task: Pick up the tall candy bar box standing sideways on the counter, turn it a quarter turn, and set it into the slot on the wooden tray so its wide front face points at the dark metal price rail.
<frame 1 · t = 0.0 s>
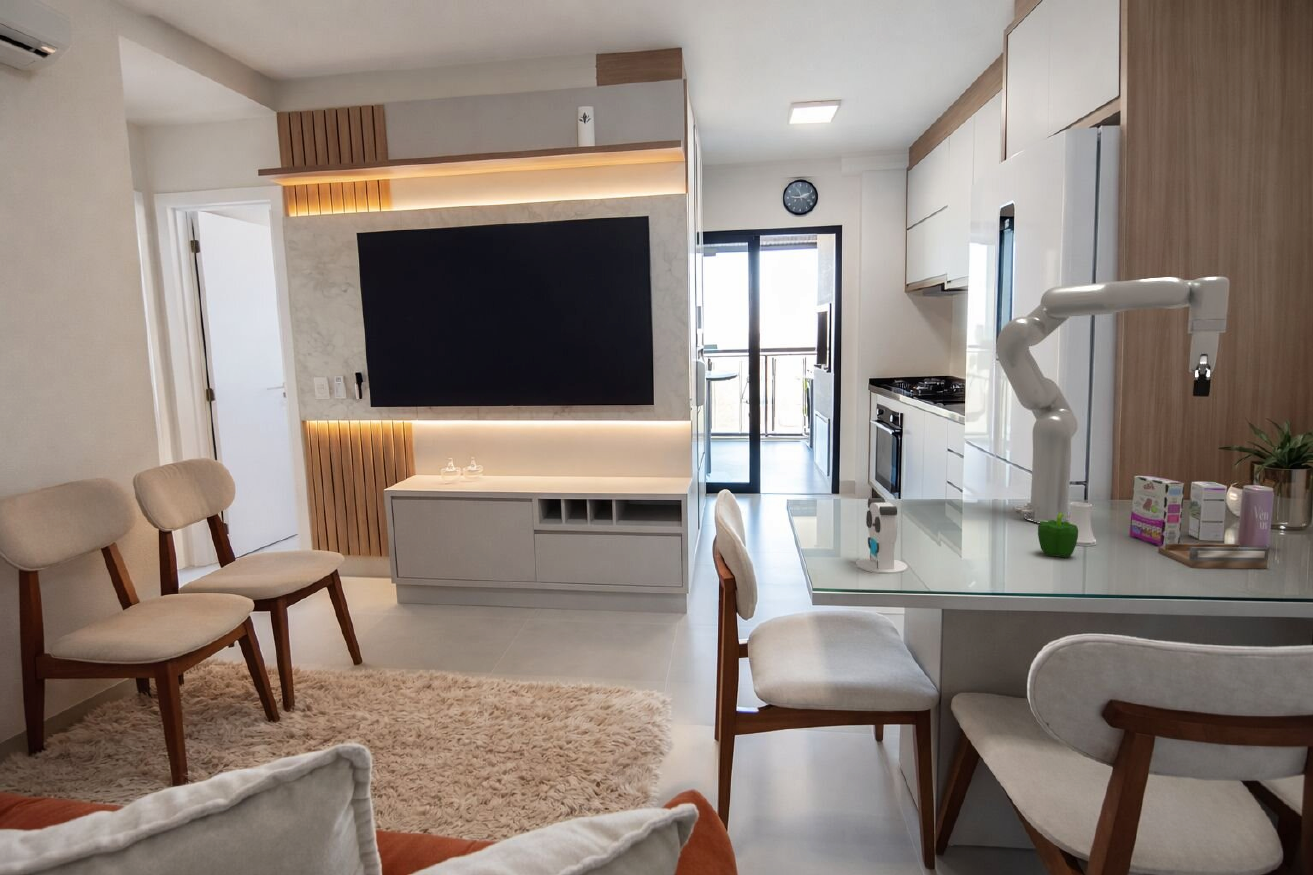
hand: (1201, 395, 178), 37 cm above the table, tool pointing down, fingers open, 9 cm apart
panda figurine: (881, 566, 163), on the table
syrup box: (1204, 538, 182), on the table
beverage can: (1252, 547, 174), on the table
candy bar box: (1153, 542, 180), on the table
bell pepper: (1057, 555, 169), on the table
vase: (1078, 542, 180), on the table
wooden tray: (1210, 559, 164), on the table
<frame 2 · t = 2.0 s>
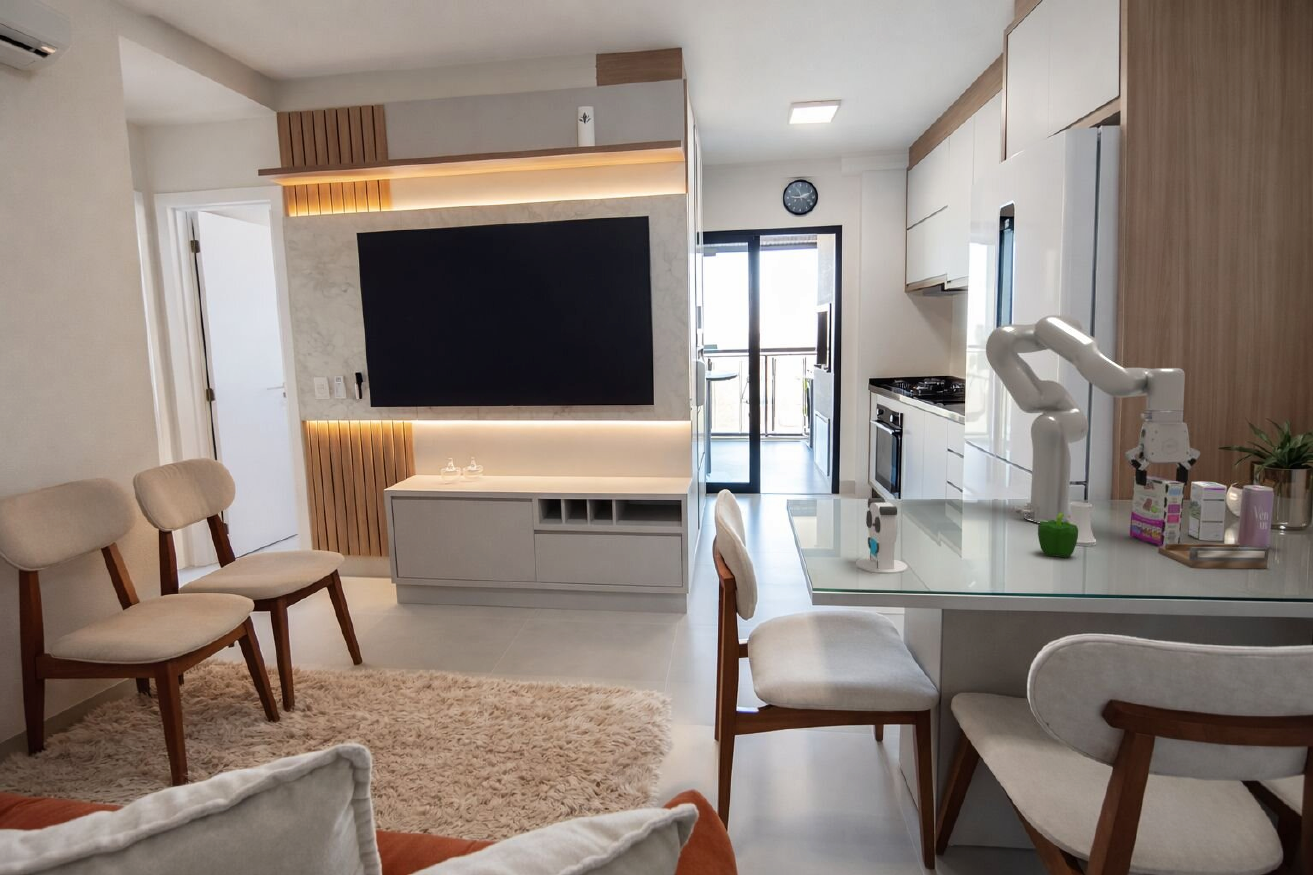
hand: (1161, 484, 177), 15 cm above the table, tool pointing down, fingers open, 9 cm apart
nothing on the table moved.
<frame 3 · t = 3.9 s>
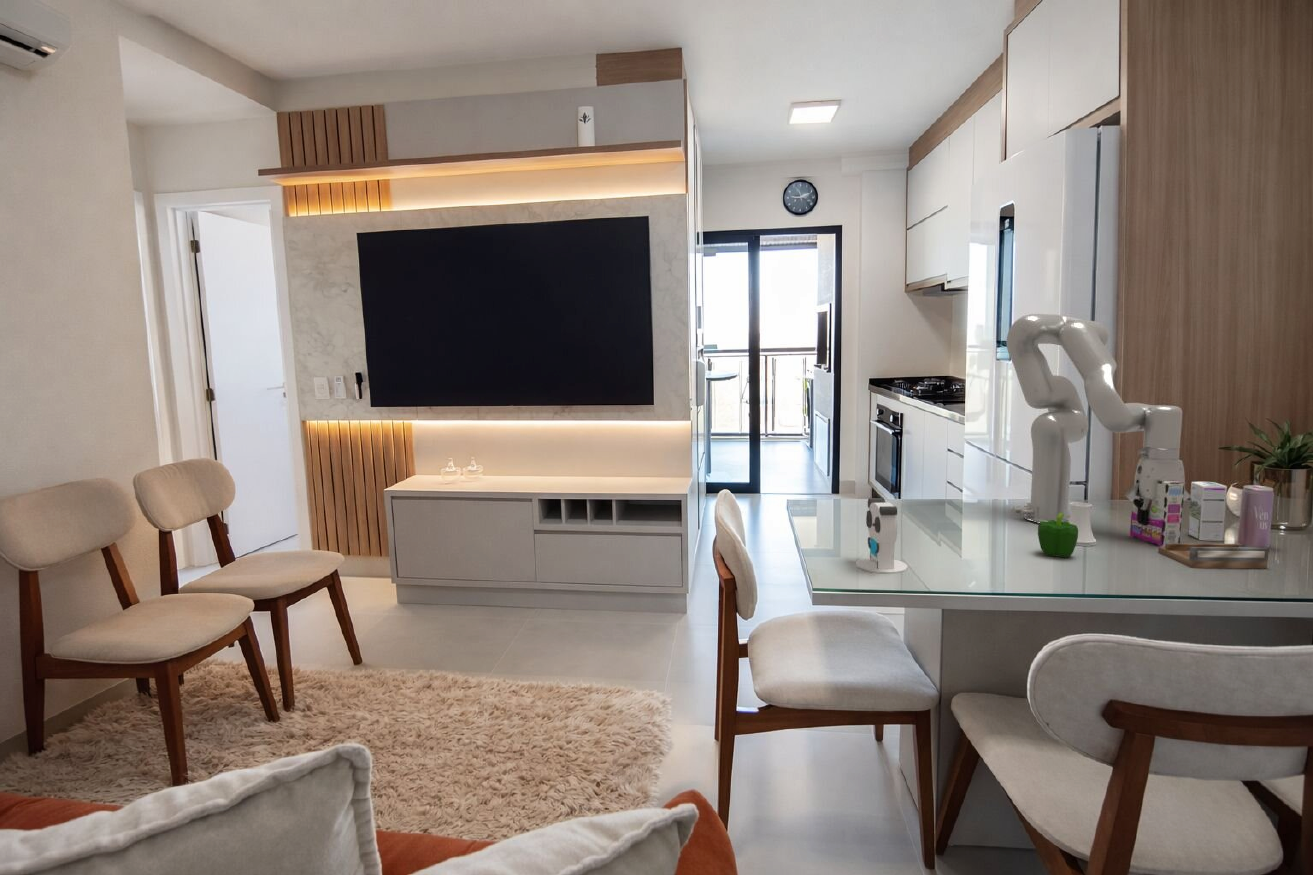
hand: (1155, 523, 179), 5 cm above the table, tool pointing down, fingers closed on candy bar box, 5 cm apart
candy bar box: (1154, 542, 180), on the table, touching gripper
everything else where it was.
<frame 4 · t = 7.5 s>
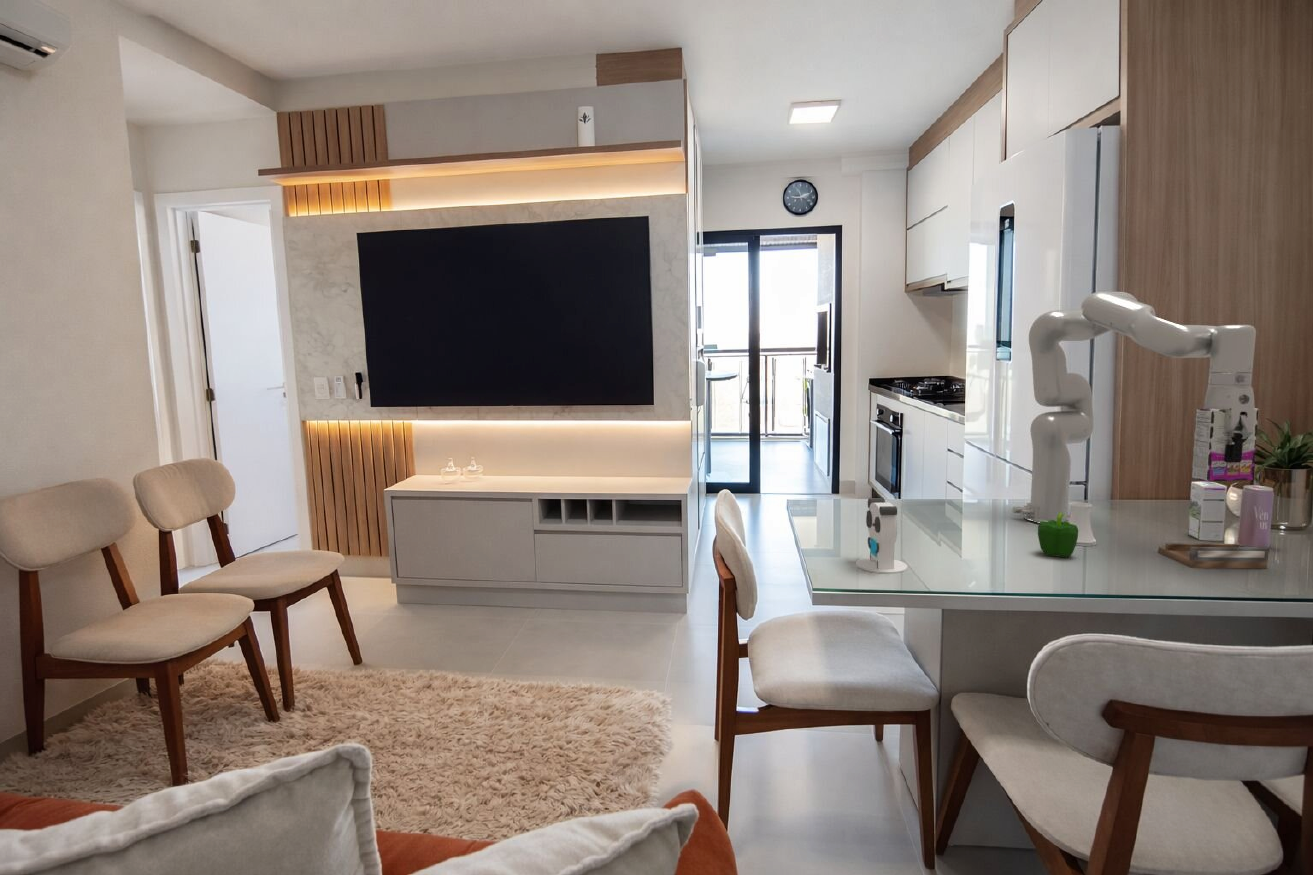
hand: (1222, 459, 160), 24 cm above the table, tool pointing down, fingers closed on candy bar box, 5 cm apart
candy bar box: (1220, 480, 160), point 19 cm above the table, touching gripper
everything else where it was.
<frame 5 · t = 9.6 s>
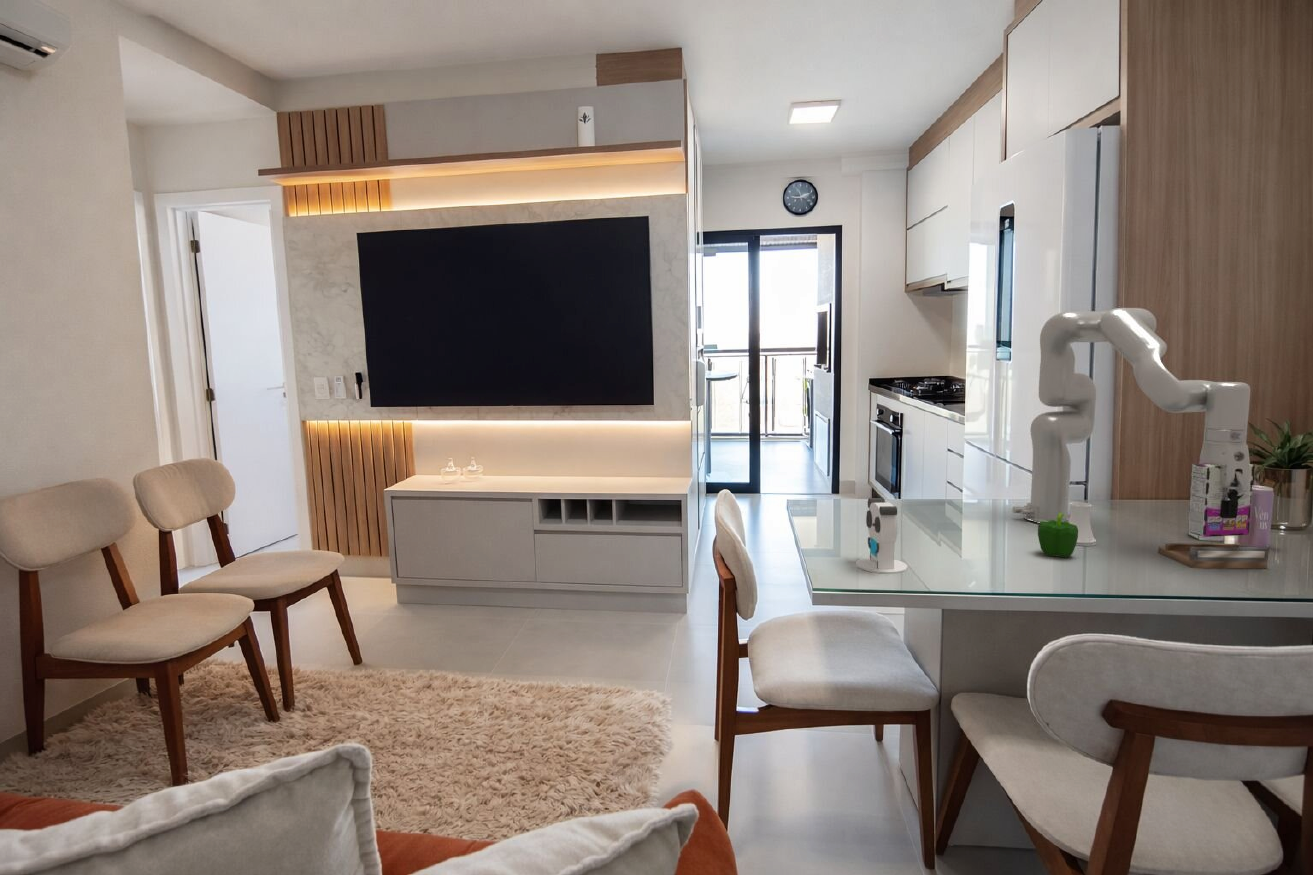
hand: (1218, 513, 161), 11 cm above the table, tool pointing down, fingers closed on candy bar box, 5 cm apart
candy bar box: (1216, 534, 162), point 6 cm above the table, touching gripper
everything else where it was.
when the fingers open (7 cm above the table, at t = 11.3 s): candy bar box drops 1 cm, resting on wooden tray.
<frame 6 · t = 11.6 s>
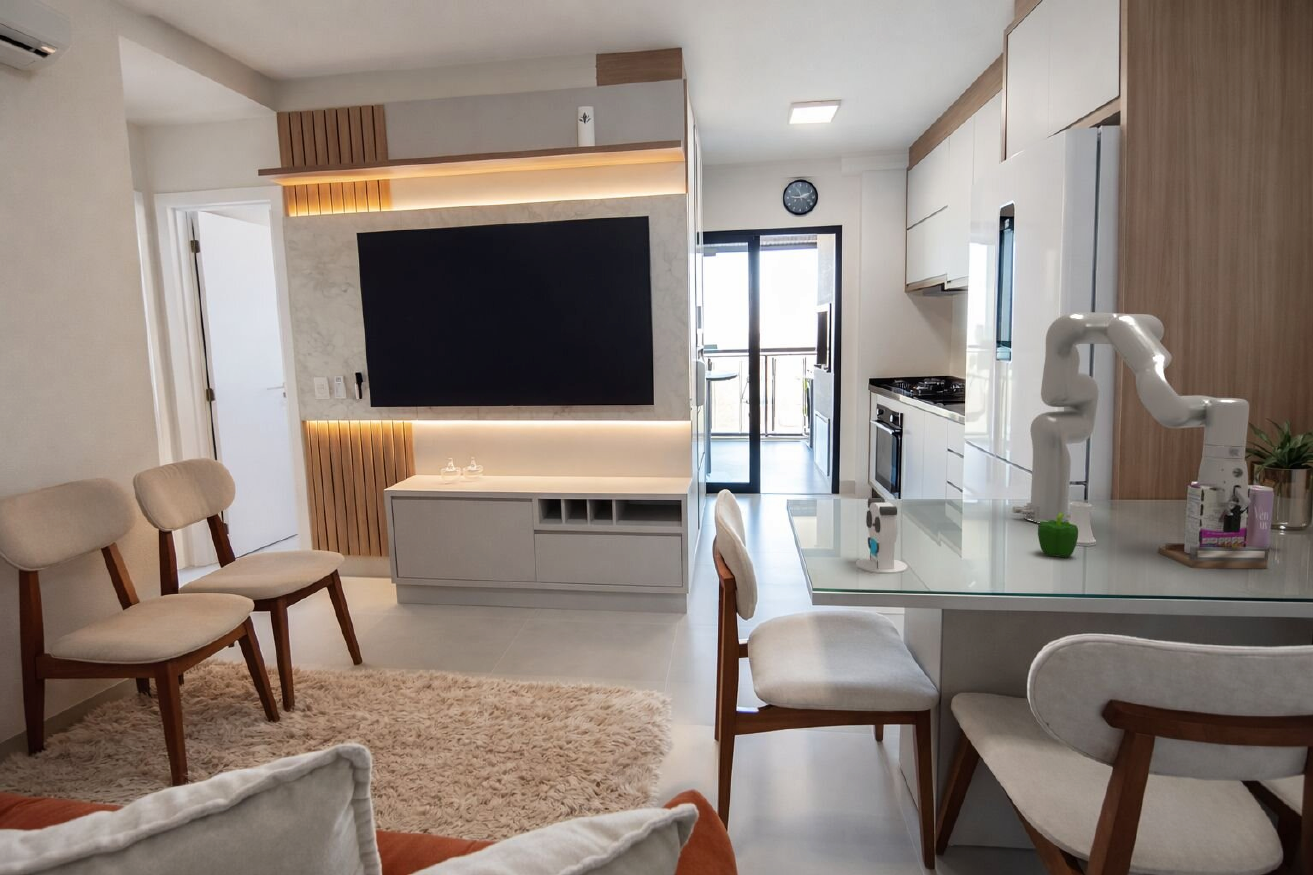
hand: (1217, 526, 161), 8 cm above the table, tool pointing down, fingers open, 8 cm apart
candy bar box: (1213, 555, 163), point 1 cm above the table, touching wooden tray
everything else where it was.
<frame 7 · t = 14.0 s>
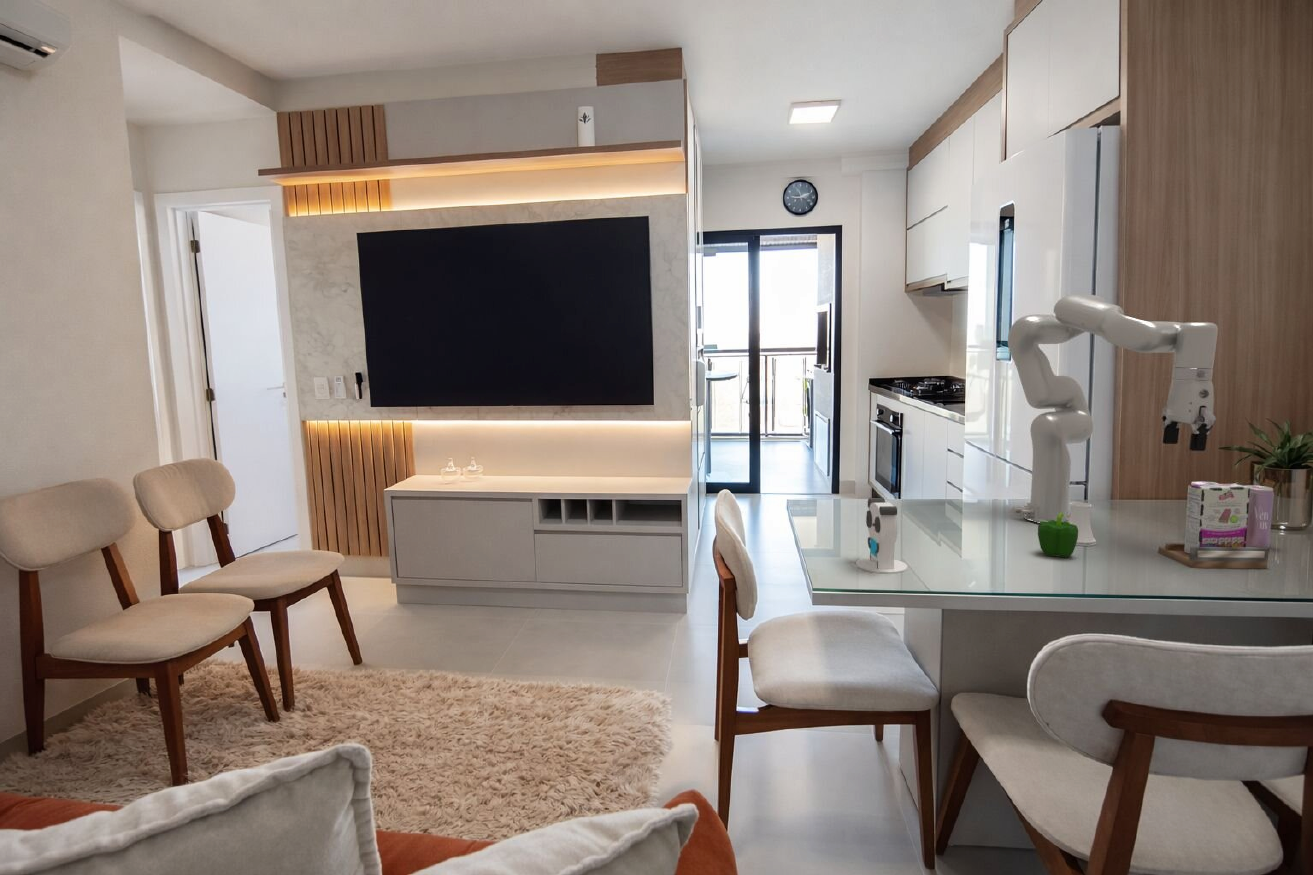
hand: (1183, 447, 167), 26 cm above the table, tool pointing down, fingers open, 9 cm apart
nothing on the table moved.
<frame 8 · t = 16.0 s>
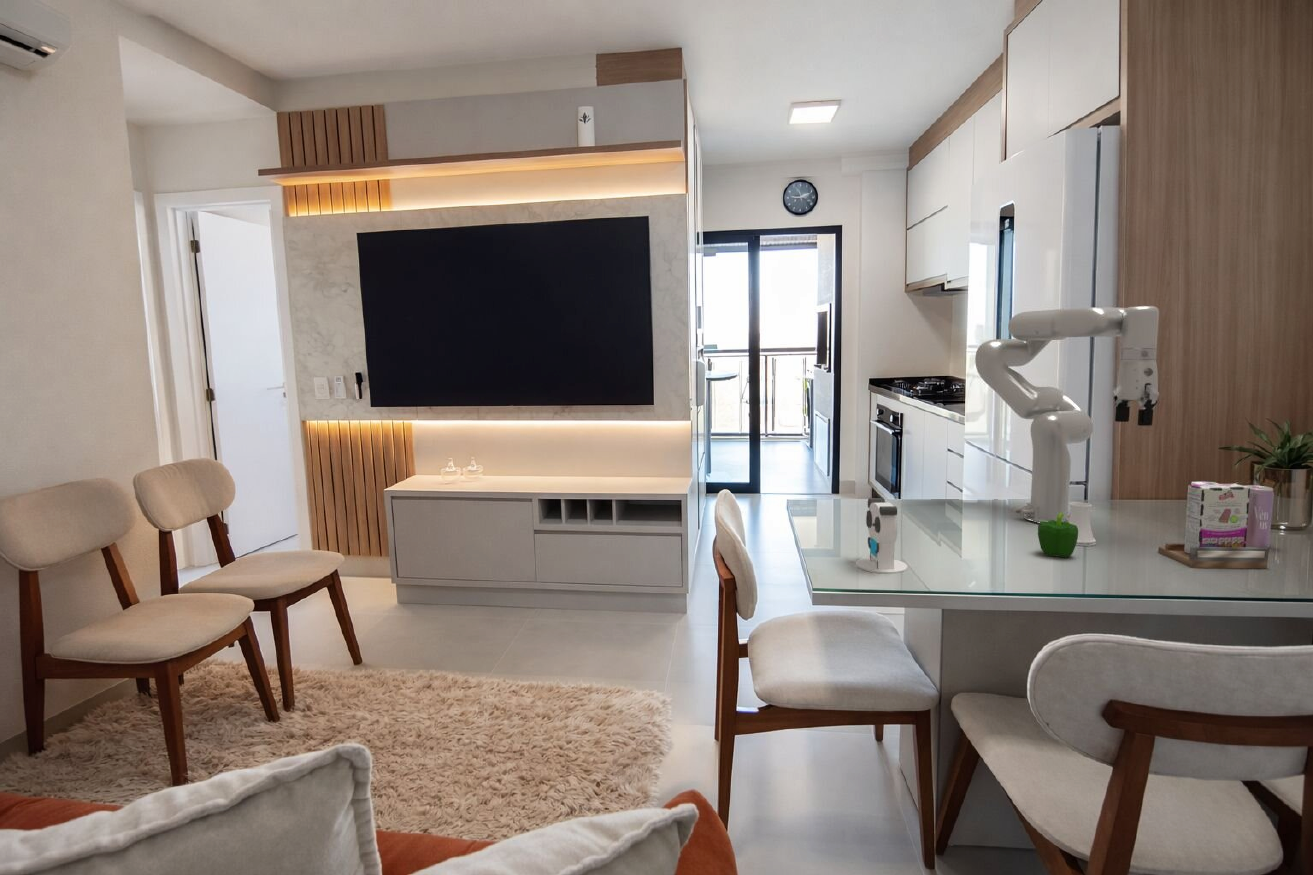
hand: (1133, 423, 178), 30 cm above the table, tool pointing down, fingers open, 9 cm apart
nothing on the table moved.
at the end: candy bar box inside the target area on the wooden tray (0.4 cm from its centre), point 1.3 cm above the wooden tray's base; candy bar box tilted 0°; the gripper is holding nothing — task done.
